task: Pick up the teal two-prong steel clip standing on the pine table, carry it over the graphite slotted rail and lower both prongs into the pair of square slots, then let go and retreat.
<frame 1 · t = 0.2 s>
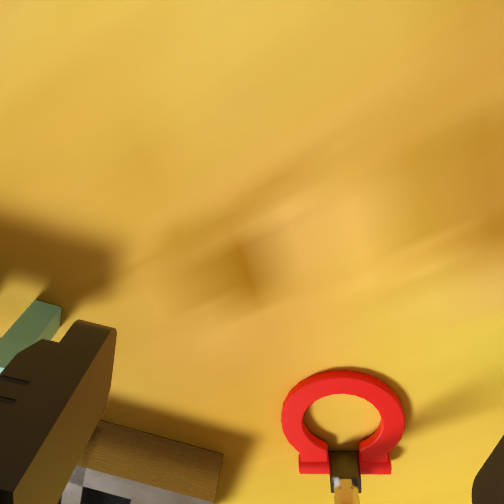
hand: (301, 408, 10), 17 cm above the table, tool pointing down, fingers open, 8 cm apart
tow hook: (341, 416, 34), on the table
clip: (11, 303, 32), on the table
rail: (92, 451, 39), on the table
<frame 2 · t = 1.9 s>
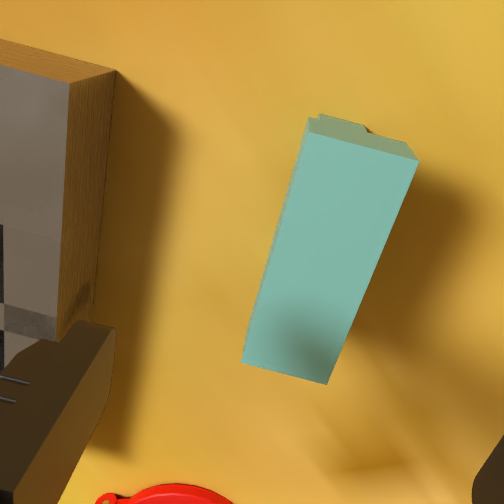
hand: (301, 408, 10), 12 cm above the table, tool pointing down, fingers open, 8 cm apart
clip: (316, 199, 20), on the table
rail: (15, 261, 23), on the table
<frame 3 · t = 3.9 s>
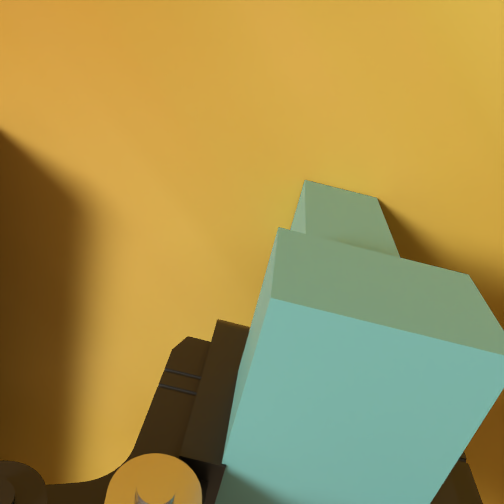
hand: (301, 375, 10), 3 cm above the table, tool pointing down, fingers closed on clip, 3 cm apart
clip: (302, 302, 13), on the table, touching gripper
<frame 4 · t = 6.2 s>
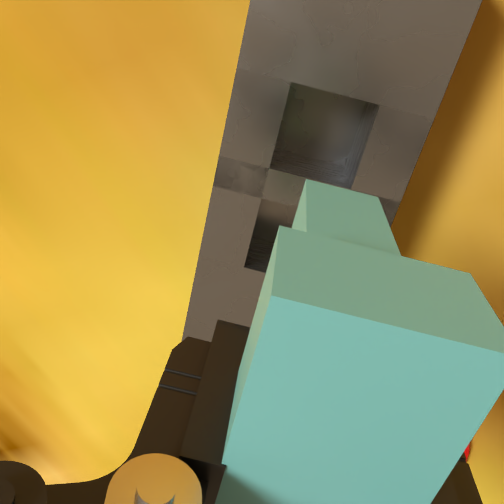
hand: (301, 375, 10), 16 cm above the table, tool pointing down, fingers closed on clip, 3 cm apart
clip: (303, 302, 13), point 13 cm above the table, touching gripper
rail: (305, 167, 24), on the table
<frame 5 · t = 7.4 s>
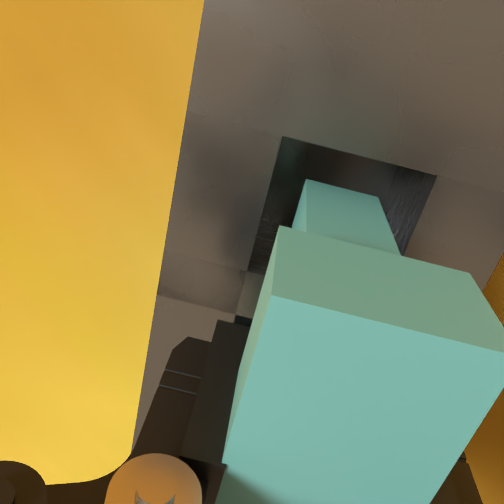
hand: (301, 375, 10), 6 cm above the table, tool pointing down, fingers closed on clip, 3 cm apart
clip: (303, 302, 13), point 4 cm above the table, touching gripper
rail: (306, 244, 16), on the table
when the fingers open (5 cm above the table, at t = 8.6 s): clip drops 1 cm, resting on rail.
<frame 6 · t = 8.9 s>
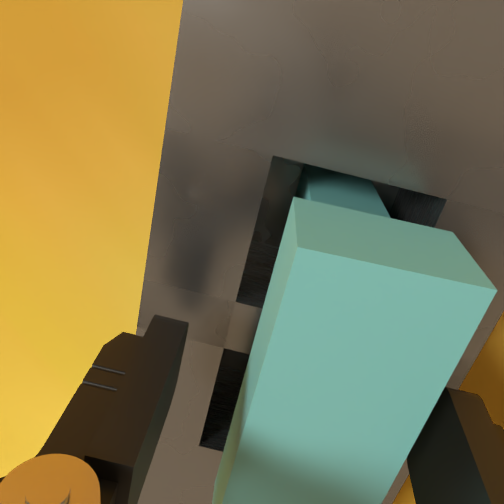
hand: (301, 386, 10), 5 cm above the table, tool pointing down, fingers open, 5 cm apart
clip: (303, 274, 14), point 1 cm above the table, touching rail
rail: (302, 264, 15), on the table
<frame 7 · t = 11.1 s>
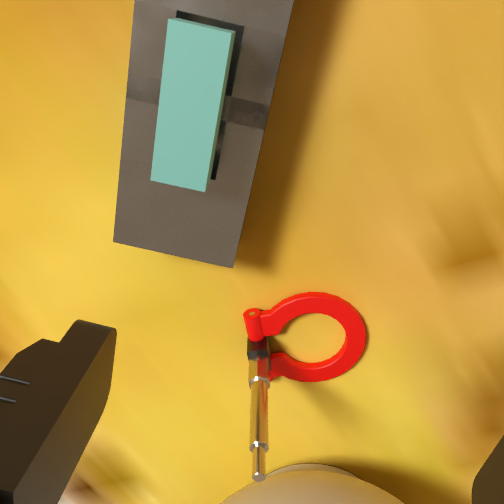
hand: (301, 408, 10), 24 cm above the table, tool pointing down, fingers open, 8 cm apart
tow hook: (306, 333, 39), on the table
clip: (207, 91, 30), point 1 cm above the table, touching rail
decorative bowl: (311, 502, 48), on the table
rail: (208, 90, 30), on the table
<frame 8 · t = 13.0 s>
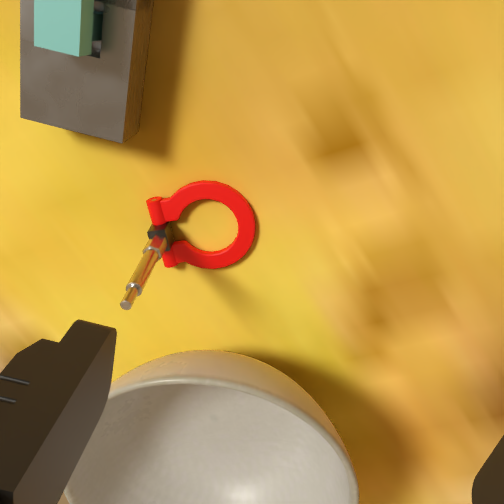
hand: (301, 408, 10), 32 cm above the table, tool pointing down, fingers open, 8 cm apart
tow hook: (205, 223, 44), on the table
decorative bowl: (225, 396, 53), on the table
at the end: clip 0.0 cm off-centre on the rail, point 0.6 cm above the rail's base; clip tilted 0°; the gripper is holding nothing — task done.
